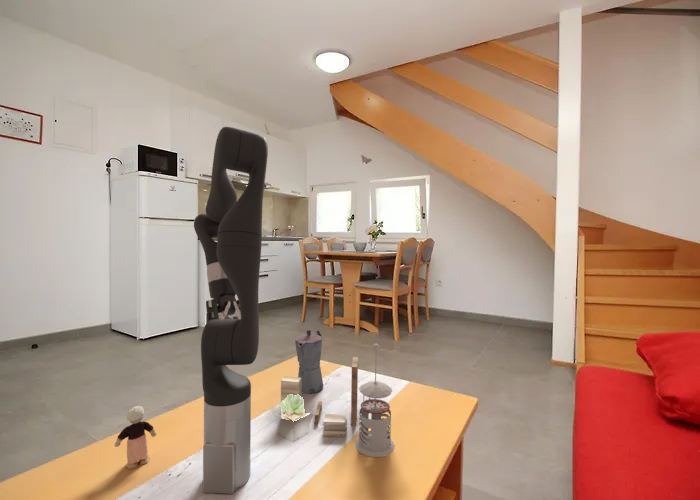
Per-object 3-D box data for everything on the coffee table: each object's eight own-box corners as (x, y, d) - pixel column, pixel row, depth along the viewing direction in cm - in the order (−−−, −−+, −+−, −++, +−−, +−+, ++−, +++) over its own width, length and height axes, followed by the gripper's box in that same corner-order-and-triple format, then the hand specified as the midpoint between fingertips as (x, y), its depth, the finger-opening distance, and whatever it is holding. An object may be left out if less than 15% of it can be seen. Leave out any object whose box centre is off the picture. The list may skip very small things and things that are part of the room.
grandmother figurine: (151, 452, 79) (151, 398, 78) (157, 458, 76) (157, 403, 76) (112, 468, 73) (112, 410, 72) (118, 476, 70) (118, 416, 70)
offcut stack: (346, 436, 86) (346, 422, 86) (322, 435, 86) (323, 421, 86) (347, 427, 90) (347, 414, 90) (324, 426, 91) (325, 413, 91)
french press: (361, 460, 77) (363, 351, 76) (348, 432, 88) (349, 337, 87) (401, 453, 79) (403, 348, 79) (383, 427, 91) (384, 335, 90)
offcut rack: (356, 425, 91) (357, 367, 91) (314, 424, 92) (315, 365, 91) (357, 410, 99) (357, 357, 99) (318, 409, 100) (319, 356, 99)
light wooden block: (297, 421, 93) (297, 382, 93) (280, 419, 94) (280, 380, 94) (301, 415, 96) (301, 377, 96) (284, 414, 97) (285, 376, 97)
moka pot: (286, 395, 109) (287, 333, 109) (306, 377, 124) (307, 323, 123) (314, 399, 106) (314, 336, 106) (330, 380, 121) (331, 325, 121)
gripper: (217, 274, 88) (227, 336, 85) (247, 278, 102) (256, 331, 98) (193, 281, 90) (202, 343, 86) (225, 284, 103) (234, 337, 100)
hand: (231, 337), depth 92 cm, fingers open, 8 cm apart
